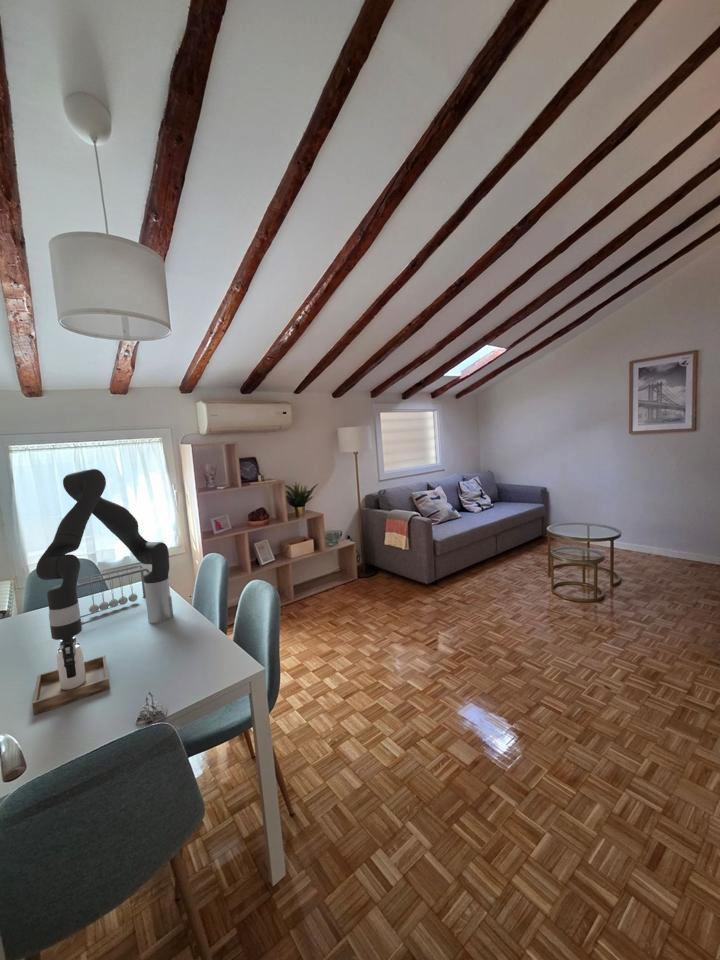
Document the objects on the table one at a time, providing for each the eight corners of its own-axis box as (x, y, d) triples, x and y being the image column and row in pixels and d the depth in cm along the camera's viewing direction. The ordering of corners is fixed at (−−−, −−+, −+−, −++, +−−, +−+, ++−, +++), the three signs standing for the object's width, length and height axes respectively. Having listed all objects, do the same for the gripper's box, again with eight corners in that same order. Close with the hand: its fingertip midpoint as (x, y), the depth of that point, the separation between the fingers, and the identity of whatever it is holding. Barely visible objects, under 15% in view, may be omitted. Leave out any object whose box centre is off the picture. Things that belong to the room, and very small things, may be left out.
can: (72, 691, 120) (67, 653, 119) (55, 689, 121) (50, 652, 120) (91, 679, 126) (86, 642, 125) (74, 677, 127) (69, 641, 126)
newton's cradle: (145, 599, 198) (142, 564, 196) (153, 604, 191) (149, 567, 189) (72, 620, 176) (67, 581, 175) (78, 627, 169) (73, 586, 168)
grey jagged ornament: (123, 742, 99) (120, 712, 98) (131, 719, 107) (128, 692, 107) (163, 732, 102) (160, 703, 101) (167, 711, 110) (165, 684, 109)
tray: (106, 665, 136) (105, 655, 136) (109, 689, 121) (108, 678, 121) (39, 685, 126) (37, 675, 126) (33, 715, 111) (32, 703, 111)
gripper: (80, 623, 118) (87, 677, 119) (80, 609, 130) (86, 658, 131) (48, 631, 114) (55, 687, 115) (51, 615, 125) (57, 666, 127)
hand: (71, 671), depth 123 cm, fingers open, 6 cm apart
